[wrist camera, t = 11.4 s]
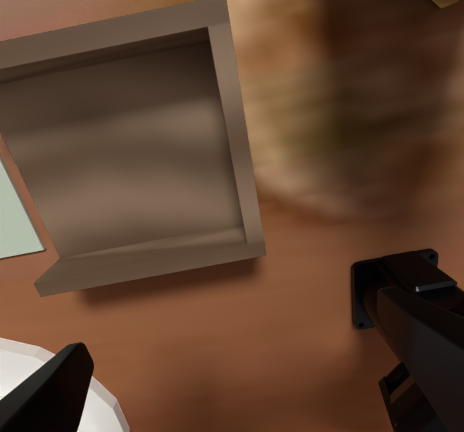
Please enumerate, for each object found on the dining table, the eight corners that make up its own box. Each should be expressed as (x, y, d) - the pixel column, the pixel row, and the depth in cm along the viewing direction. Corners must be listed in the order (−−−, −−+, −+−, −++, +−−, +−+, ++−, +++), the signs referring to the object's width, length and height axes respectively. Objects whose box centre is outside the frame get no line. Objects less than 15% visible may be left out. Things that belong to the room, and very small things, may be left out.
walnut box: (257, 228, 20) (266, 255, 17) (72, 262, 21) (40, 296, 17) (223, 21, 16) (225, -6, 12) (-15, 70, 16) (-86, 59, 12)
